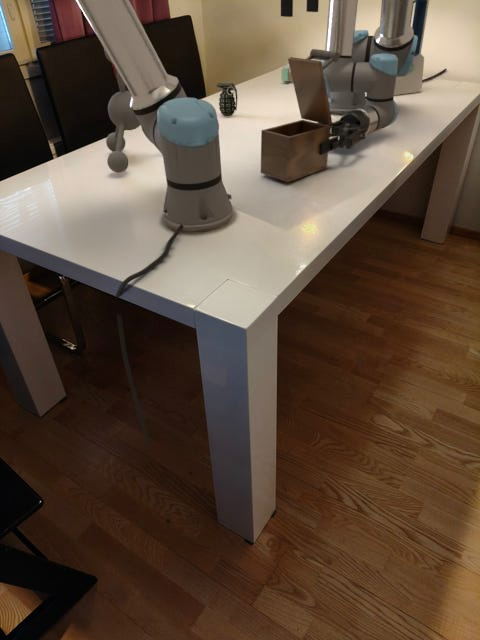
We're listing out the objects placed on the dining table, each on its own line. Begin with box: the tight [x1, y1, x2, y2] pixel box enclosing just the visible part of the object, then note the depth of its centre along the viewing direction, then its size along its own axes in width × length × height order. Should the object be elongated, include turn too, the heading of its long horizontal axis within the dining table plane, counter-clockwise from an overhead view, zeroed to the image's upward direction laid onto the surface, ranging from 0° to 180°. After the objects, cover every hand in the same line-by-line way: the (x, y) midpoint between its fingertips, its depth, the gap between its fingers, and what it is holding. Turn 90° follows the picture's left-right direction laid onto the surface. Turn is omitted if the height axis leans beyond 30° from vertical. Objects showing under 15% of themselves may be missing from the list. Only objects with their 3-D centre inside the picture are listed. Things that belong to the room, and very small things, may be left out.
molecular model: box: [103, 47, 141, 174], centre depth 130 cm, size 24×22×30 cm
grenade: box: [215, 82, 238, 117], centre depth 166 cm, size 7×6×10 cm
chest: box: [260, 119, 331, 183], centre depth 122 cm, size 15×9×10 cm, turn 133°
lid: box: [287, 48, 340, 125], centre depth 118 cm, size 16×9×8 cm
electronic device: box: [394, 0, 430, 96], centre depth 174 cm, size 12×8×30 cm, turn 105°
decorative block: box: [281, 59, 324, 83], centre depth 206 cm, size 26×6×20 cm
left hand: (299, 13), depth 105 cm, fingers open, 8 cm apart
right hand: (305, 144), depth 124 cm, fingers closed on chest, 9 cm apart
